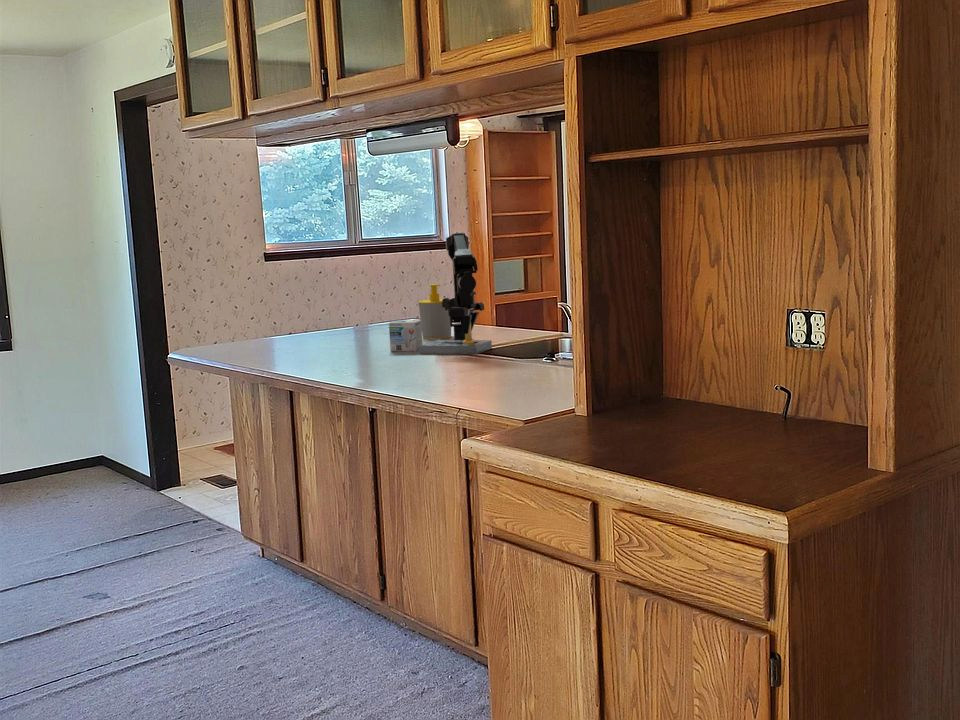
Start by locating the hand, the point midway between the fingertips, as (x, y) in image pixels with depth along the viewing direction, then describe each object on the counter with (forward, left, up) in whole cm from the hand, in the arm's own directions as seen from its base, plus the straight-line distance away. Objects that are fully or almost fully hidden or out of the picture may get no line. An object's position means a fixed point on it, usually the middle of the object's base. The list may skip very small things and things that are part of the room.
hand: (467, 333), depth 337 cm
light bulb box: (-2, -26, -7) cm, 27 cm away
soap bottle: (-36, -30, -7) cm, 47 cm away
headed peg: (0, 0, -4) cm, 4 cm away
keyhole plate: (0, -5, -6) cm, 8 cm away
